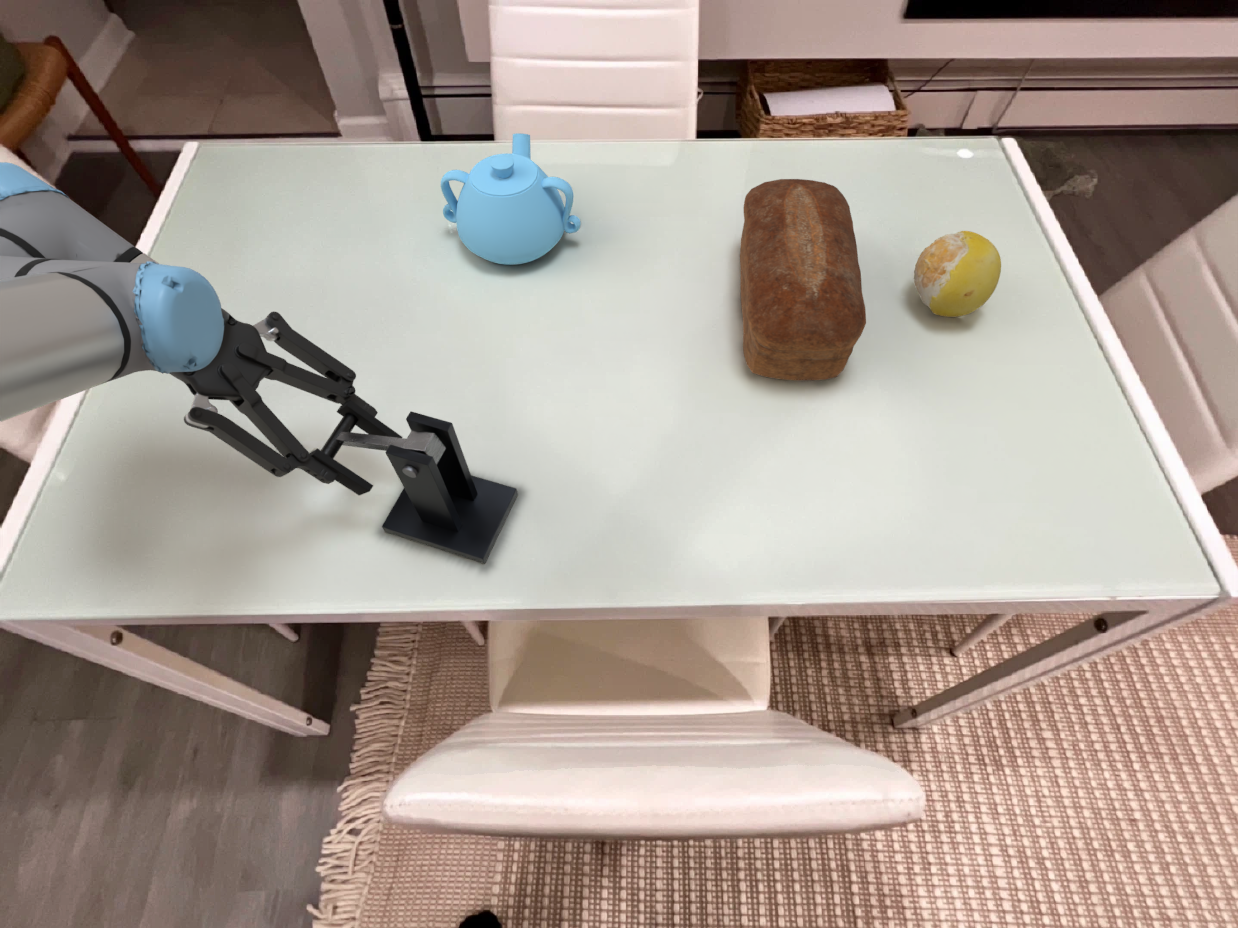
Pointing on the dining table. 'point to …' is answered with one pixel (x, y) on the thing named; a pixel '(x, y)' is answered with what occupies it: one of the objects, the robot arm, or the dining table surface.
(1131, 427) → the dining table surface
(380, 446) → the lever
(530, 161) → the teapot
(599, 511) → the dining table surface
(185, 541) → the dining table surface
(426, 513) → the bracket
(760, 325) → the bread
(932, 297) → the fruit
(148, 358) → the robot arm
